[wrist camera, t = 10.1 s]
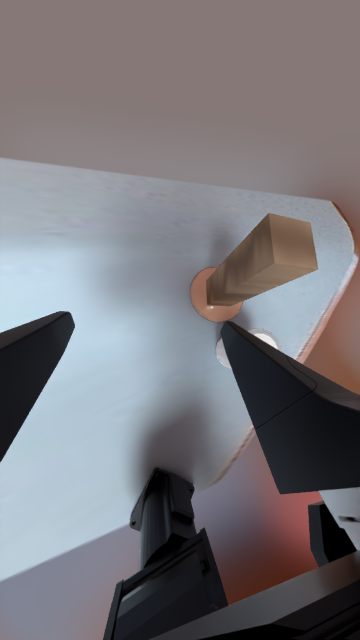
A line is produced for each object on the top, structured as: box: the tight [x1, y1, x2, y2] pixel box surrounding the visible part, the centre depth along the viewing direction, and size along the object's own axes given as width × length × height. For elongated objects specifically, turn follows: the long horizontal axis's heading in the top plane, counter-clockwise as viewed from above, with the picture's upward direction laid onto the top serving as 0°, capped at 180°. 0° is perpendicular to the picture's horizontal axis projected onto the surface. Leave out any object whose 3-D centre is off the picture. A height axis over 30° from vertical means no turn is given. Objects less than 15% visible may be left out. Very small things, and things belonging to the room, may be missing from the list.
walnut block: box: [206, 213, 318, 306], centre depth 18 cm, size 4×4×13 cm
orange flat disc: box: [190, 267, 243, 322], centre depth 24 cm, size 10×10×1 cm
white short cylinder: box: [216, 329, 283, 370], centre depth 20 cm, size 7×7×7 cm
